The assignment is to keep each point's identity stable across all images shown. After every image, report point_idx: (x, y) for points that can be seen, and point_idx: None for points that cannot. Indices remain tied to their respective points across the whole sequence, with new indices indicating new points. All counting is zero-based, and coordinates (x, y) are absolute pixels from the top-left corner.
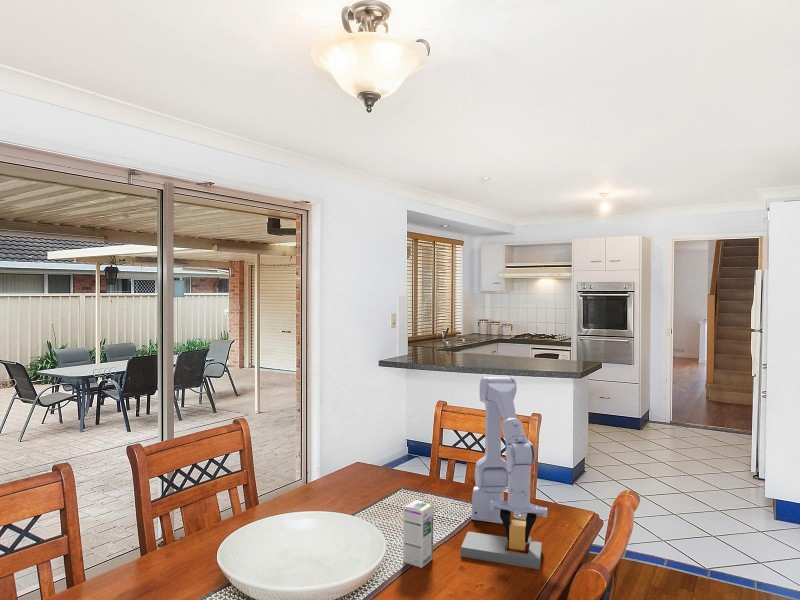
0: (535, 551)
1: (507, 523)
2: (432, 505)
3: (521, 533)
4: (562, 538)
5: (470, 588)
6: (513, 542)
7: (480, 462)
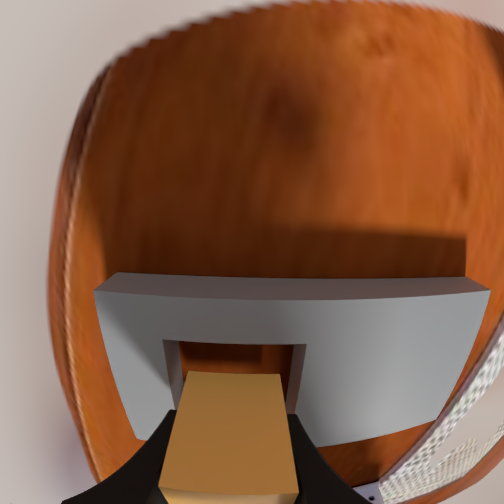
0: (134, 371)
1: (320, 501)
2: None
3: (195, 450)
4: None
5: (402, 26)
6: (255, 399)
7: None
